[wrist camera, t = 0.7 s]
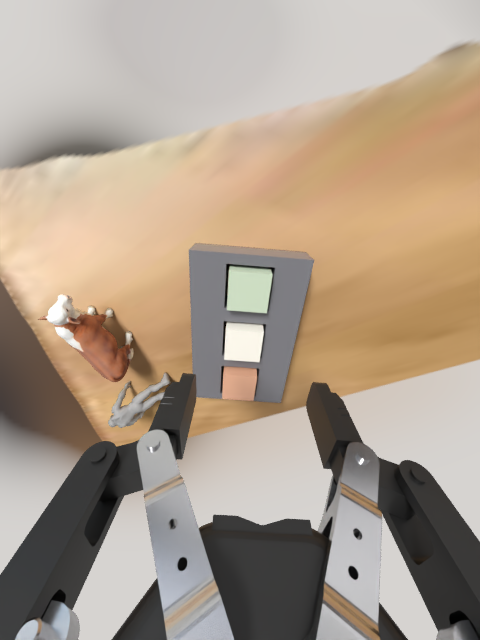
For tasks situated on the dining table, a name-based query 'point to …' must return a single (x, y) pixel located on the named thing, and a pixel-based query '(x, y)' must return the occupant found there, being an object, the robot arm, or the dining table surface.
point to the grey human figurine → (135, 404)
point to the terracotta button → (239, 383)
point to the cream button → (243, 341)
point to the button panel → (245, 315)
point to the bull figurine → (91, 337)
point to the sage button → (249, 288)
